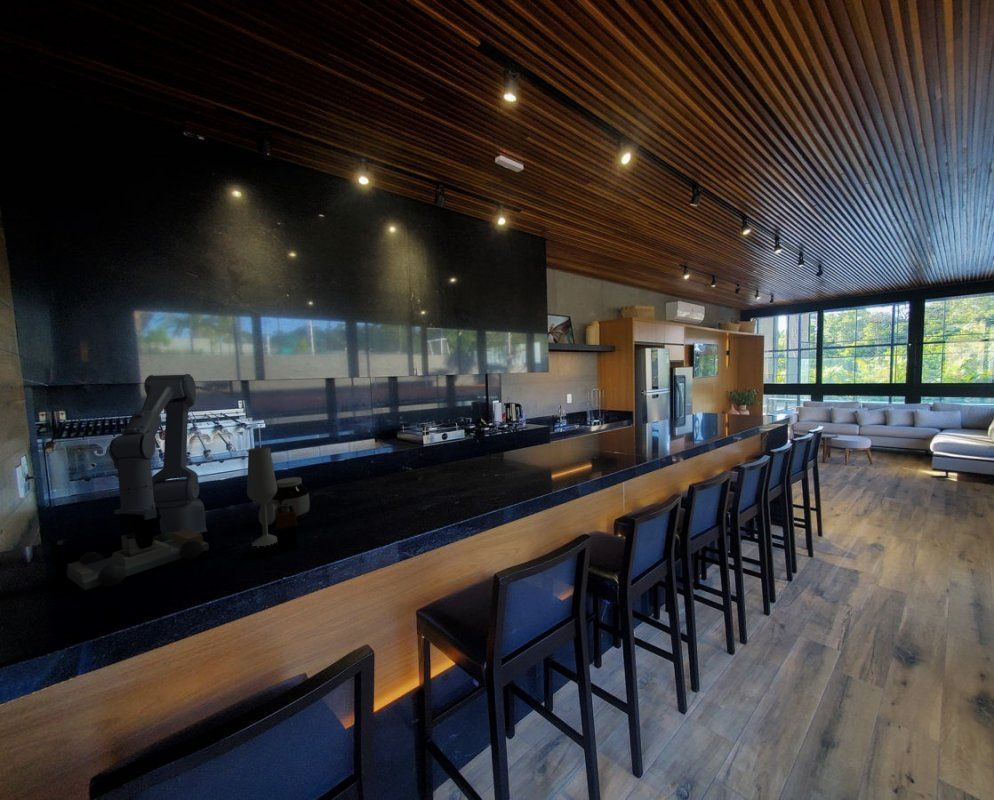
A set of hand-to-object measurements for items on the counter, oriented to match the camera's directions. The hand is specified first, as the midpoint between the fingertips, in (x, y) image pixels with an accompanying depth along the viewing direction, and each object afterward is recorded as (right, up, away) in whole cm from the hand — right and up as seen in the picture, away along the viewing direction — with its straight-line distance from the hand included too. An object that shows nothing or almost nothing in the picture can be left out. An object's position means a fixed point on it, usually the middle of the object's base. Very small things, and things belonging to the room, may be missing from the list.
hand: (141, 545), depth 94 cm
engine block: (0, -2, 0) cm, 2 cm away
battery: (+30, -3, +8) cm, 31 cm away
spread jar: (+19, -3, +28) cm, 33 cm away
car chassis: (0, -4, 0) cm, 4 cm away
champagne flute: (+22, -3, +11) cm, 25 cm away
